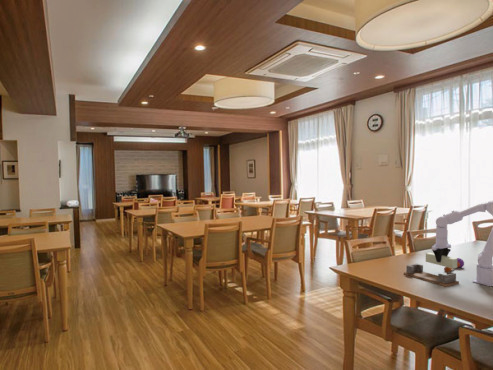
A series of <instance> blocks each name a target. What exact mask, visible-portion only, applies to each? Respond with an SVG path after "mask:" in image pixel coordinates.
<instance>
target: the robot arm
mask: <svg viewBox="0 0 493 370" xmlns="http://www.w3.org/2000/svg"><path fill="white" fill-rule="evenodd" d="M486 211H487V212H488V213H489V214H490V215H492V217H493V200H490V201H488V202H487V201H485V202H483V203H482V202H481V203H479V204H476V205H473V206H471V207H469V208H466V209H463V210H461V211H459V210H452V211H451V212H449V213H447V214H442V216H441V215H440V216H439V217H437V218H436V219H435V225H436V226H435V227H436V229H435V243H434V244H433V245H432V246H431V251H432V253H434V255H435V258H436V261H437V262H441V257H442V255H443V256H448V257H449V255H450V252H451V249H452V244H449V243H448V236H449V235H448V225H453V224H455V223H459V222H460V221H462V220H463V219H464V218H465V217H467V216H470V215H472V214H476V213H479V212H480V213H486ZM472 282H473V283H475V284H480V285H484V286H488V287H491V286H493V227H492V228H491V230H490V233H489V235H488V238H487V240H486V242H485V245H484V247H483V249H482V251H481V252H480V253H479V254H478V255H477V264H476V279H475V280H472Z"/></svg>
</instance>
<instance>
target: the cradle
mask: <svg viewBox="0 0 493 370" xmlns="http://www.w3.org/2000/svg"><path fill="white" fill-rule="evenodd" d="M403 275H406V276H409V277H412V278H416V279H419V280H423V281H426V282H429V283H432V284H435V285H438V286H442V287H445V288H447V287H451V286H455V285H458V284H460V281H459V280H457V273H454V272H451V271H450V272H446V274H442V273H438V275H437V274H433V273H430V272H426V271H424V265H423V264H419V263H412V264H407V265H406V271H404V272H403Z"/></svg>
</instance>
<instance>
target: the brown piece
mask: <svg viewBox="0 0 493 370" xmlns="http://www.w3.org/2000/svg"><path fill="white" fill-rule="evenodd" d="M464 266H465V261H464V260H463V258H459V257H457V268H456V269H458V268H459V269H461V268H463V267H464ZM453 269H454V268H449V267H445V266H444V269H443V271H444V272H445V273H447V272H451V271H452V270H453Z"/></svg>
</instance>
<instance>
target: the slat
mask: <svg viewBox="0 0 493 370" xmlns="http://www.w3.org/2000/svg"><path fill="white" fill-rule="evenodd" d="M457 258H458V257H457ZM457 258H456V257H452V256H449V255H448V256H443V255H442V257H441V262H437V261H436V258H435V255H434V252H426V253H425V262H426V263H430V264H433V265H438V266H441V267H444V268H445V267H449V268H453V269H458V268H457Z"/></svg>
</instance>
